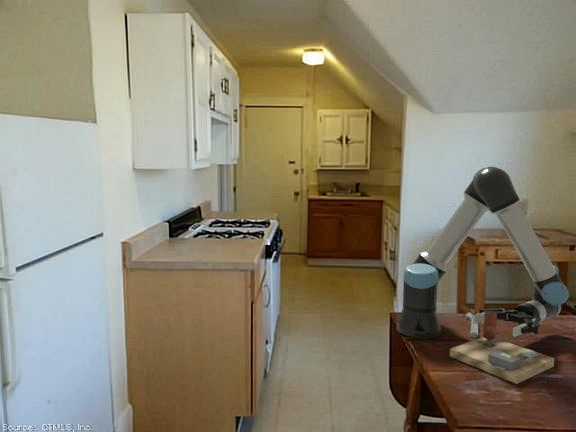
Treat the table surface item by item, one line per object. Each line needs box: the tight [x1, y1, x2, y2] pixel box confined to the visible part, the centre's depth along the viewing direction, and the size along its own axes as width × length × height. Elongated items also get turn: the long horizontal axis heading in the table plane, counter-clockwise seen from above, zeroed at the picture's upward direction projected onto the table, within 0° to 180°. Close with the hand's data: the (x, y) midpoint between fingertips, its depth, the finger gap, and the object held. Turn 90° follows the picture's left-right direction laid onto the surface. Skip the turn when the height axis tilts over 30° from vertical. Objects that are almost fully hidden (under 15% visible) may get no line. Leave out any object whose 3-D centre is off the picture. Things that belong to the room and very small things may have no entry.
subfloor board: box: [449, 336, 555, 385], centre depth 146 cm, size 22×20×3 cm
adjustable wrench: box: [465, 312, 479, 339], centre depth 177 cm, size 25×6×2 cm, turn 153°
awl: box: [482, 311, 498, 347], centre depth 152 cm, size 4×4×13 cm
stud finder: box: [488, 350, 521, 371], centre depth 138 cm, size 7×5×2 cm
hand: (493, 325), depth 151 cm, fingers open, 13 cm apart
